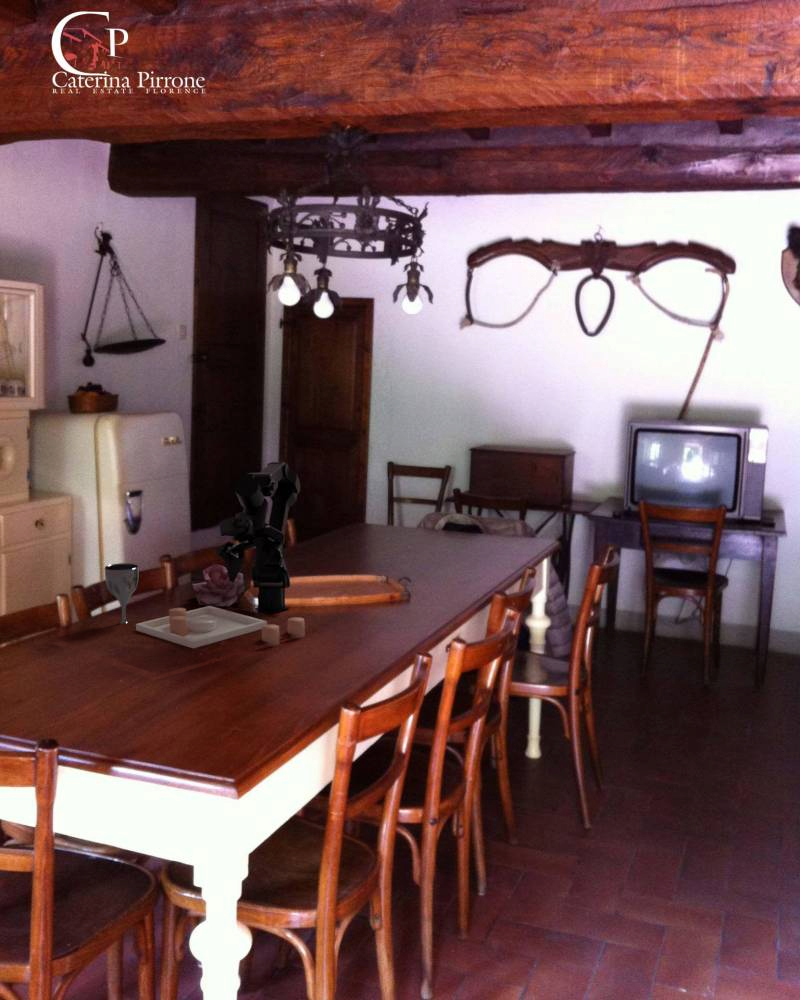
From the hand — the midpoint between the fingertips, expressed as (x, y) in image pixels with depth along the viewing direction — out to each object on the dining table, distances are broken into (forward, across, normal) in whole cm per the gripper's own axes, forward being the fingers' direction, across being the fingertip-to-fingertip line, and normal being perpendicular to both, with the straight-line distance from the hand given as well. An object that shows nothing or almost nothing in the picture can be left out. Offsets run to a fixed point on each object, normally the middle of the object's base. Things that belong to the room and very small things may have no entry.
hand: (244, 576), depth 234 cm
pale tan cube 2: (+14, +1, +10) cm, 17 cm away
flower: (-8, -32, +17) cm, 37 cm away
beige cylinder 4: (+7, -22, -1) cm, 23 cm away
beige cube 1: (+9, +2, +16) cm, 19 cm away
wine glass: (+7, -35, -8) cm, 36 cm away
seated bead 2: (+12, -17, -4) cm, 21 cm away
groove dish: (+9, -16, +3) cm, 19 cm away
